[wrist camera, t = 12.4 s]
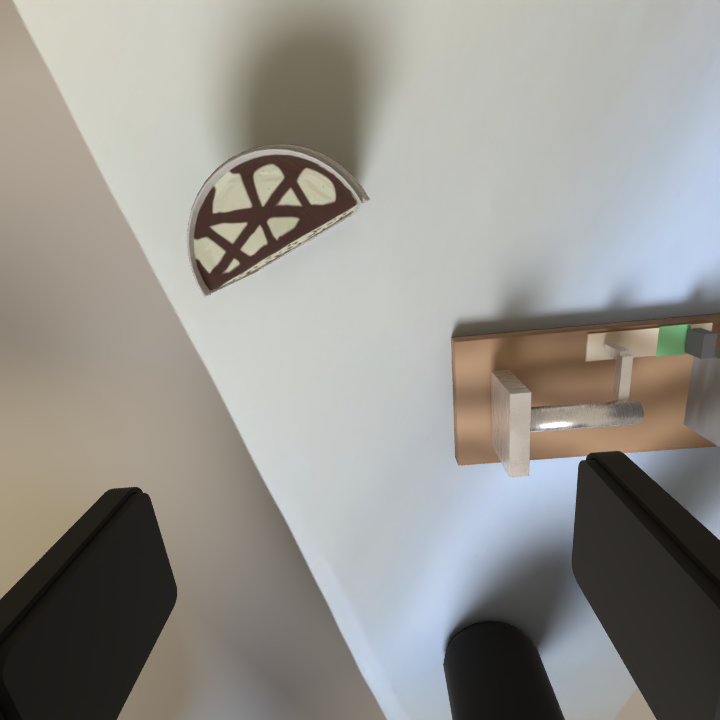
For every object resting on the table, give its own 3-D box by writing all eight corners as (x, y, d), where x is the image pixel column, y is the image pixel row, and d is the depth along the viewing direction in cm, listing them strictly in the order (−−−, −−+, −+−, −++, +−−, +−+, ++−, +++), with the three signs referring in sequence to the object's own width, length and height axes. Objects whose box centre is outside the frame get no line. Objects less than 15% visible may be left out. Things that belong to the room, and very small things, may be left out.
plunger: (490, 354, 35) (510, 376, 30) (621, 342, 34) (664, 362, 29) (490, 443, 38) (509, 477, 33) (612, 433, 37) (651, 466, 32)
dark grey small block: (687, 329, 34) (704, 334, 33) (700, 327, 34) (718, 333, 32) (684, 352, 35) (700, 358, 33) (696, 351, 35) (713, 357, 33)
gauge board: (451, 337, 37) (477, 374, 28) (734, 312, 36) (858, 342, 27) (455, 456, 41) (479, 523, 32) (712, 437, 39) (814, 501, 30)
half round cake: (331, 130, 32) (315, 91, 23) (369, 205, 34) (370, 198, 24) (200, 213, 34) (135, 209, 25) (243, 280, 36) (197, 300, 26)
